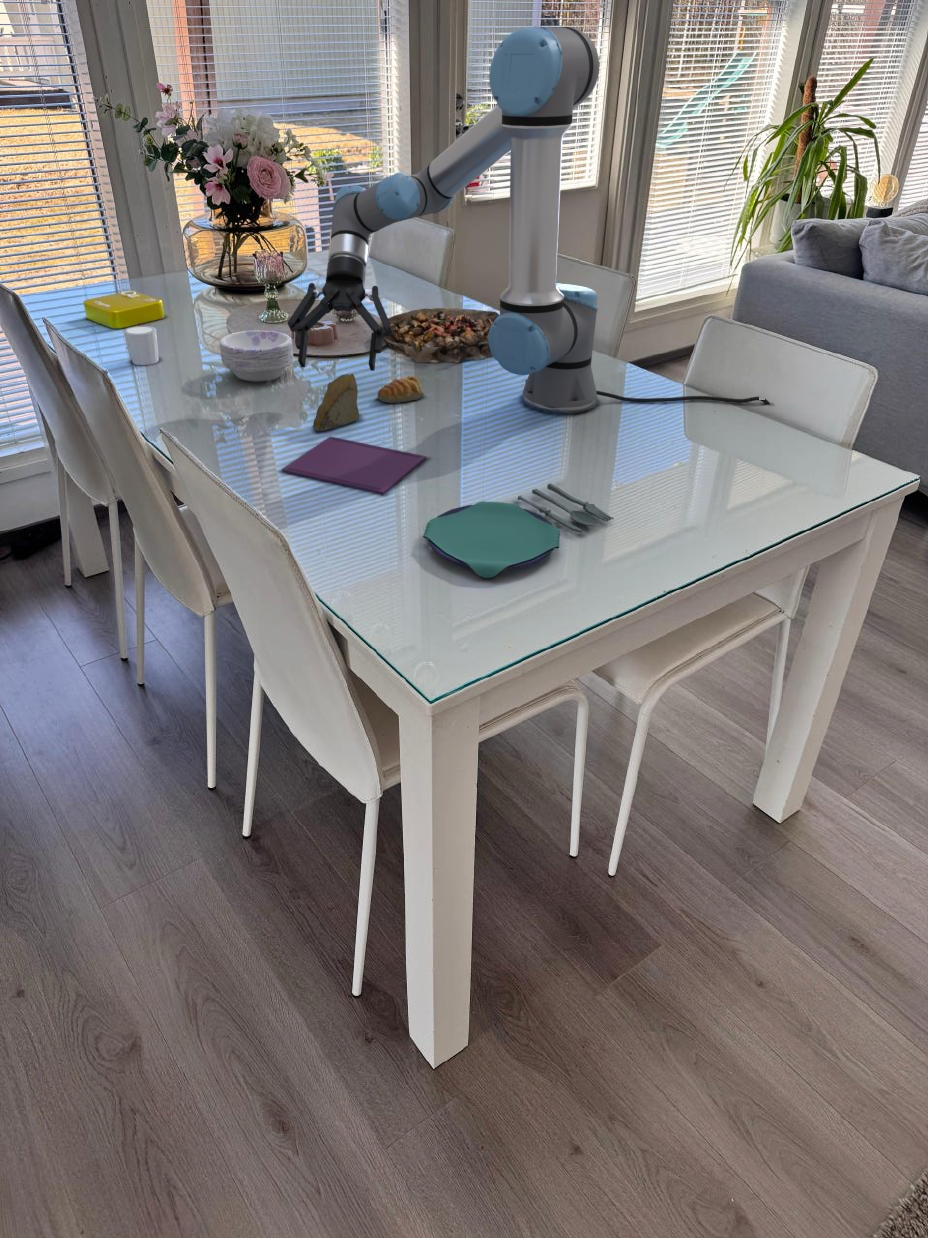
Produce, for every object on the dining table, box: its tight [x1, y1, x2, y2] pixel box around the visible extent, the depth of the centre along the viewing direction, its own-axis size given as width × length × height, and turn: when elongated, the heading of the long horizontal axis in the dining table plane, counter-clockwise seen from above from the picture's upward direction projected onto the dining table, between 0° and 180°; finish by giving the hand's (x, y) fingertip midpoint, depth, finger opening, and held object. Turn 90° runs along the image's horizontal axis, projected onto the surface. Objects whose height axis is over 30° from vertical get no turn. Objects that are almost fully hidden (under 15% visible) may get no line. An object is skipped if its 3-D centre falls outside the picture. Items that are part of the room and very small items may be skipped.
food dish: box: [378, 307, 500, 364], centre depth 215 cm, size 35×33×8 cm
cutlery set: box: [422, 482, 615, 579], centre depth 137 cm, size 20×30×2 cm, turn 128°
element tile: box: [82, 290, 166, 330], centre depth 226 cm, size 15×15×5 cm
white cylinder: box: [123, 325, 159, 366], centre depth 199 cm, size 7×7×7 cm
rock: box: [312, 373, 360, 432], centre depth 171 cm, size 11×9×10 cm
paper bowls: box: [219, 329, 294, 383], centre depth 192 cm, size 15×15×8 cm
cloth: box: [281, 436, 427, 495], centre depth 157 cm, size 20×16×1 cm
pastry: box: [377, 376, 424, 404], centre depth 183 cm, size 9×7×4 cm
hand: (336, 365), depth 171 cm, fingers open, 13 cm apart
